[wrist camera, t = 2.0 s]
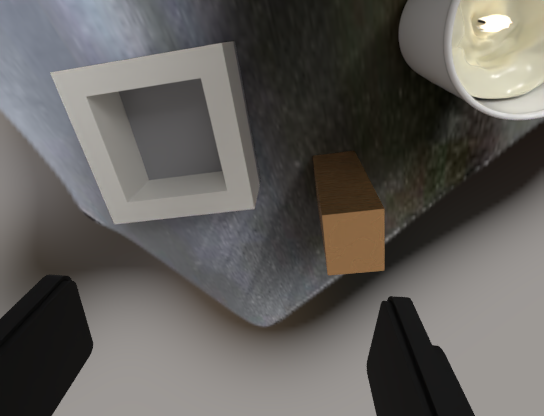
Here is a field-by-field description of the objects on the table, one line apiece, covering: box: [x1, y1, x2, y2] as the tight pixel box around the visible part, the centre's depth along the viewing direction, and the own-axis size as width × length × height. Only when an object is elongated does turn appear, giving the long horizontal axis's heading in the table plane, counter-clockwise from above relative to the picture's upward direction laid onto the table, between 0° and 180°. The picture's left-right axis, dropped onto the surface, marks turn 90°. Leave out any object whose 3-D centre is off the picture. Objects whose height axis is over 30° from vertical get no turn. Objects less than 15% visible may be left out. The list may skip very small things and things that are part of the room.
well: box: [50, 41, 261, 224], centre depth 29 cm, size 13×13×6 cm
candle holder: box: [398, 0, 544, 120], centre depth 22 cm, size 10×10×12 cm
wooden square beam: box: [313, 151, 384, 275], centre depth 28 cm, size 4×5×12 cm
